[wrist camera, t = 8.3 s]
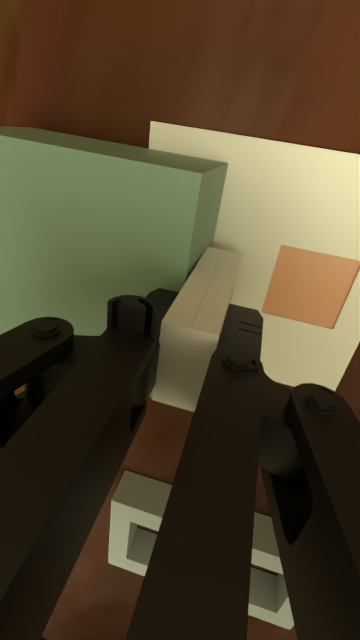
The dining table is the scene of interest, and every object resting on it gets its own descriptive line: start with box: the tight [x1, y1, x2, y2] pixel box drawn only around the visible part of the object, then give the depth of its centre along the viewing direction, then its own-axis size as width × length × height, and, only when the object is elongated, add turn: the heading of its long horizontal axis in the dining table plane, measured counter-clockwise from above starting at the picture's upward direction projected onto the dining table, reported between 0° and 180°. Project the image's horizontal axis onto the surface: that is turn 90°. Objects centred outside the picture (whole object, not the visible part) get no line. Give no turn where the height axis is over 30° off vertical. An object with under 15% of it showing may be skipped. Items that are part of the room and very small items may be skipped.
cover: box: [0, 126, 228, 397], centre depth 15 cm, size 9×9×4 cm
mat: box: [149, 121, 360, 391], centre depth 16 cm, size 11×11×1 cm
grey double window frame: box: [108, 470, 294, 630], centre depth 26 cm, size 15×9×2 cm, turn 82°
